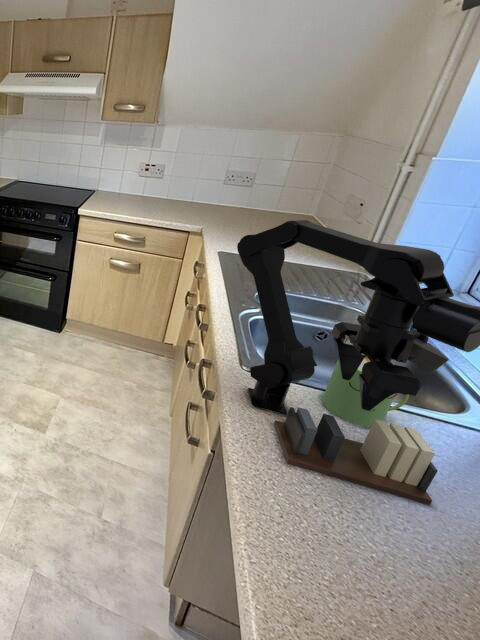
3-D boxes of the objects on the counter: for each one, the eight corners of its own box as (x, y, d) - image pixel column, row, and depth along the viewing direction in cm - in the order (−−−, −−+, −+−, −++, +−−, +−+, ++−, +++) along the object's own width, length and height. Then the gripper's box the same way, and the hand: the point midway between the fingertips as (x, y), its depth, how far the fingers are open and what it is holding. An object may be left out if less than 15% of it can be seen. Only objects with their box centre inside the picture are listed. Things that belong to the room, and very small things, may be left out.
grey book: (288, 430, 83) (298, 406, 81) (298, 433, 82) (308, 409, 80) (297, 452, 78) (307, 427, 76) (307, 455, 77) (317, 430, 75)
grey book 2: (313, 437, 82) (323, 413, 79) (323, 440, 81) (333, 415, 79) (323, 459, 76) (334, 434, 74) (333, 462, 76) (345, 437, 74)
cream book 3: (388, 457, 77) (405, 426, 75) (400, 460, 77) (416, 429, 74) (404, 483, 72) (422, 450, 69) (416, 486, 71) (435, 453, 69)
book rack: (273, 424, 86) (282, 400, 84) (398, 457, 79) (411, 432, 77) (287, 463, 77) (297, 437, 75) (429, 505, 69) (445, 478, 67)
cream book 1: (360, 449, 79) (374, 418, 76) (370, 452, 78) (385, 421, 76) (373, 473, 74) (389, 441, 71) (385, 477, 73) (402, 444, 70)
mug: (329, 417, 88) (348, 371, 84) (316, 389, 97) (334, 346, 93) (407, 439, 83) (432, 391, 79) (386, 407, 92) (408, 362, 88)
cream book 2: (375, 454, 78) (390, 422, 75) (386, 457, 77) (402, 425, 75) (390, 478, 73) (407, 446, 70) (401, 482, 72) (419, 449, 70)
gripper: (489, 360, 60) (442, 444, 65) (420, 306, 76) (388, 377, 81) (389, 342, 64) (353, 421, 69) (344, 294, 80) (318, 362, 85)
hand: (355, 393), depth 76 cm, fingers open, 9 cm apart
